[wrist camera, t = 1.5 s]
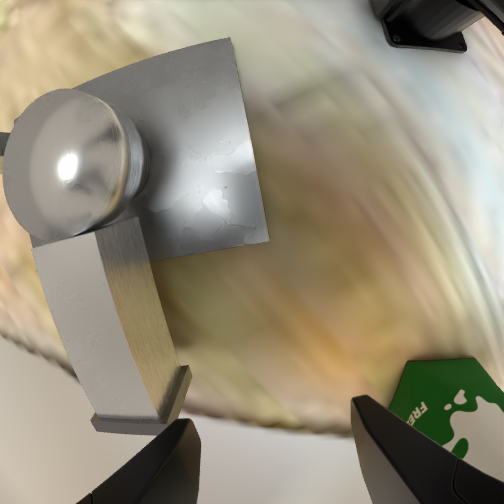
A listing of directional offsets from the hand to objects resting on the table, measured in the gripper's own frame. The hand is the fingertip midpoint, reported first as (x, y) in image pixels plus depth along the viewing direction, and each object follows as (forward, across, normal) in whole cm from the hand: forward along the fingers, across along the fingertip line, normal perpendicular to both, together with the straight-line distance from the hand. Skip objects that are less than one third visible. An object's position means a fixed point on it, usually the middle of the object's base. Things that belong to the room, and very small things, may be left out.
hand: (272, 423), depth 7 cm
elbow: (+9, +8, -4) cm, 12 cm away
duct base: (+12, +8, -8) cm, 17 cm away
